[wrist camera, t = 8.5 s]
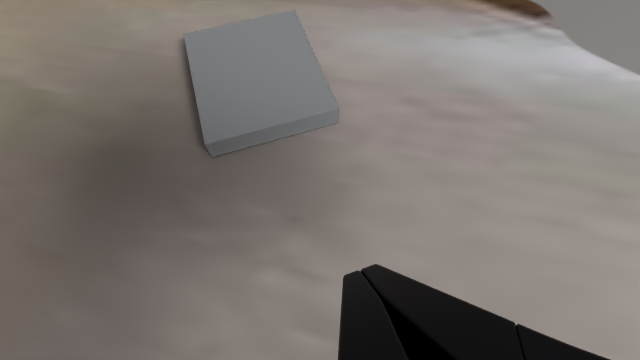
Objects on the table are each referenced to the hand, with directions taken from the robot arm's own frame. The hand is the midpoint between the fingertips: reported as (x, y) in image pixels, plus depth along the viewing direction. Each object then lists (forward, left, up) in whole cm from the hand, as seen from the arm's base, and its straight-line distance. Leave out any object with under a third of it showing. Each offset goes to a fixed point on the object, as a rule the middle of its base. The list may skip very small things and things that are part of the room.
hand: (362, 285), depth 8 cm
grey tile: (+12, -6, -12) cm, 18 cm away
